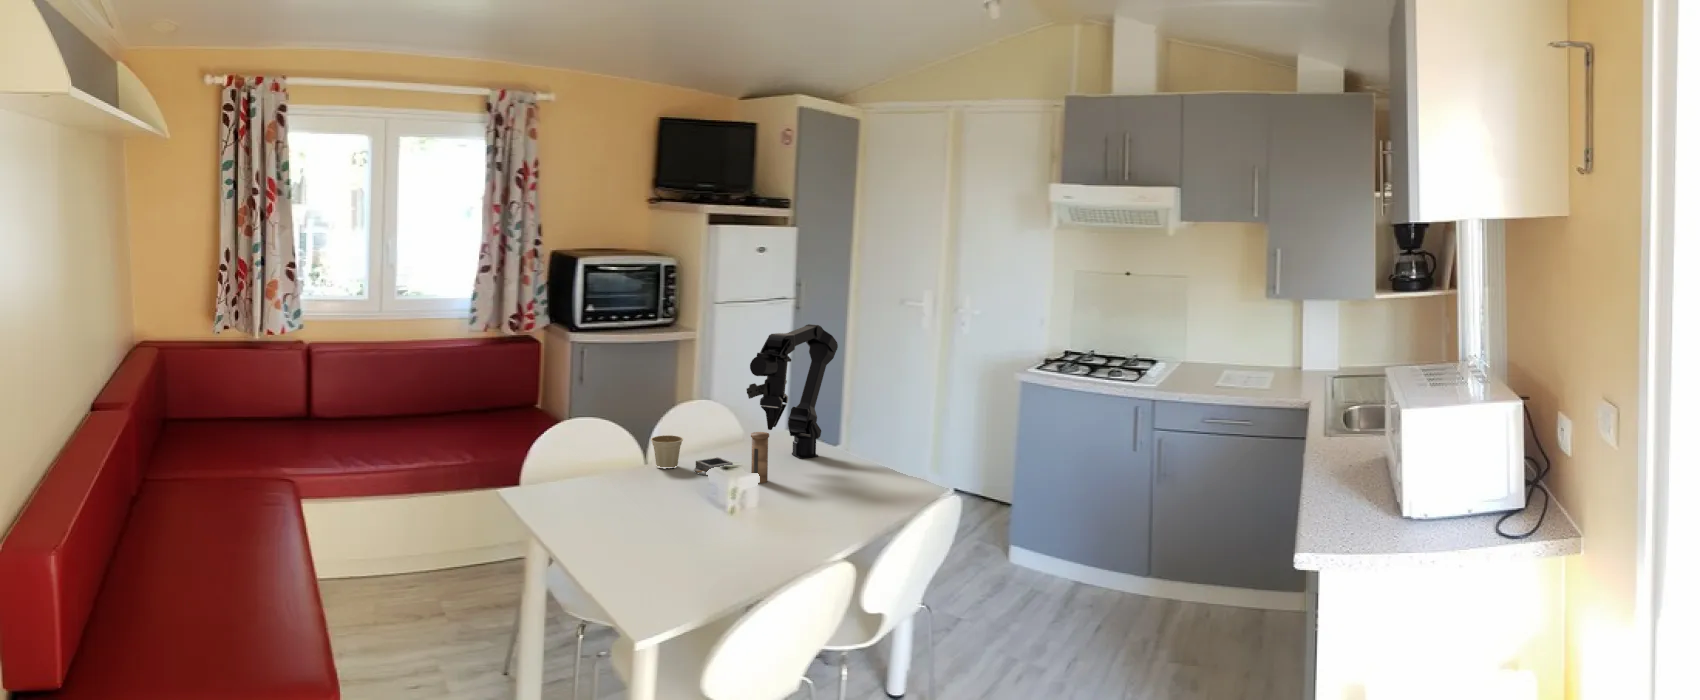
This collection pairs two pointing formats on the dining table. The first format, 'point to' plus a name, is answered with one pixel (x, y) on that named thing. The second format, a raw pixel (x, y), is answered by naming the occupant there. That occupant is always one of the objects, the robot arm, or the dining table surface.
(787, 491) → the dining table surface
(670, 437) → the flower pot
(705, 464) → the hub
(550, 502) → the dining table surface
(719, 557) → the dining table surface
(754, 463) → the brown tapered domed piece
